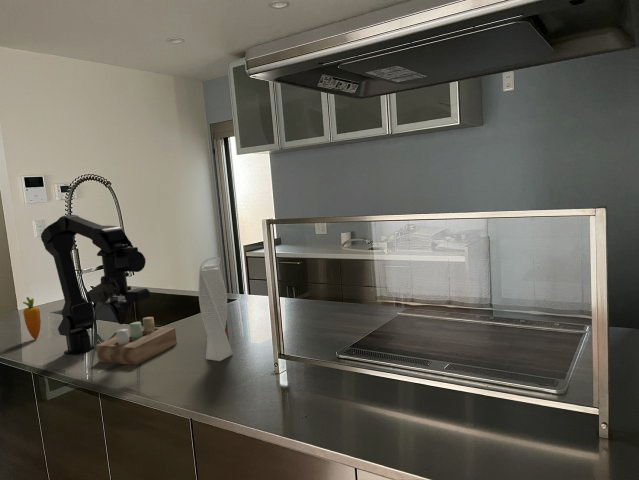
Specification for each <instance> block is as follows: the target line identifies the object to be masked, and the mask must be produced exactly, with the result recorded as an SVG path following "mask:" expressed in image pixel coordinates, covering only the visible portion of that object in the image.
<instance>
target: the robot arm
mask: <svg viewBox="0 0 639 480" xmlns="http://www.w3.org/2000/svg"><path fill="white" fill-rule="evenodd" d="M77 235H79V236H83V237H85V238H88V239H89V240H91V243H92V244H93V245H94V246H95V247H97V248H99V249H100V250H99V251H98V252H97V254H96V256H97V257H101V262H102V269H103V275H102V276H100V283H99V284H97V285H96V286H93V288H92V289H90V290H89V291H88V292H86V295H85V296H86V300H85V299H84V298H83V295H82V290H81V287H80V283H79V279H78V276H77V272H76V269H75V267H76V266H75V264H74V263H75V262H74V260H73V256H72V250H73V248H74V245H75V241H74V237H75V236H77ZM40 239H41V242H42V244H43V246H44V249H45V250H46V251H47V252H48V253H49V254H50V255H51V256H52V257H53V260H54V264H55V268H56V271H57V276H58V280H59V283H60V288H61V290H62V294H63V299H64V305H63V307H62V310H61V315H62V320H61V322H60V324H59V325H58V327H57V331H58V333H59V335H60V336H65V339H66V346H67V349H66V350H64V351H63V353H64V354H70V355H72V354H73V355H80V354H82V353H85V352H88V351H90V350H91V349H94V348H95V345H92V344H91V338H90V334H89V330H92V329H94V322H95V321H94V320H95V312H94V310H93V307H92V306H93V305H92V304H95V303H100V304H102V305H104V306H106V307H108V308H110V310H111V311H112V313H113V315H114V317H115V319H116V320H117V322H118V324H119V325H124V324H125V323H126V319H127V317H128V313H129V310H130V308H131V307H132V306H131V305H132V304H135V303H139V302H142V301H145V300H148V299H150V298H151V293H150V292H151V291H150V290H149V289H148V288H145V287H143V288H141V287H140V288H135V289H132V286H130V285H129V286H128V281H127V280H128V279H127V278H128V277H129V276H130V273H139V272H141V271H142V270H143V269H145V266H146V263H147V262H146V257H145V255H144V254H143V253H142V252H141V251H139V248H138V247H137V246H133V243H132V242H131V241H130V239H129V237H128V236H127V234H126V232H125V231H124V230H123V228H122V227H120V226H118V225H102V224H99V223H96V222H93V221H90V220H89V219H85V218H83V217H80V216H79V215H76V214H69V215H62V216H60V217H59V218H58V219H57V220H56V221H55V222H53V223H51V224H49V225H48V226H46V228H44V230H43V231H42V232H41V234H40Z"/></svg>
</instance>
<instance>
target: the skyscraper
mask: <svg viewBox="0 0 639 480" xmlns="http://www.w3.org/2000/svg"><path fill="white" fill-rule="evenodd" d="M212 260H218V262H217V265H215V263H208V264H206V263H207V262H208V261H212ZM221 261H222V260H221V257H218V256H215V257H210V258H207V259H205V260H204V261H203V262H202V263H201V264H200V266H199V273H198V274H199V275H198V301H199V302H198V303H199V308H200V315H201V319H202V322H203V325H204V328H205V332H206V334H207V336H206V337H207V340H206V351H205V360H211V361H217V362H221V361H222V360H225V359H226V358H229V357H231V356H233V355H234V354H233V353H234V352H233V350H232V348H231V345H230V340H229V341H228V338H227V335H226V332H225V326H226V319H227V320H228V318H227V317H228V297H227V290H226V286H225V281H224V278H223V277H224V276H223V274H222V271H221V267H220V263H221Z"/></svg>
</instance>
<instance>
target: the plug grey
mask: <svg viewBox="0 0 639 480" xmlns="http://www.w3.org/2000/svg"><path fill="white" fill-rule="evenodd" d="M128 331H129V329H128V328H121V329H118V330H116V336H117V340H118V345H126V344H128V343H130V340H129V332H128Z"/></svg>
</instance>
